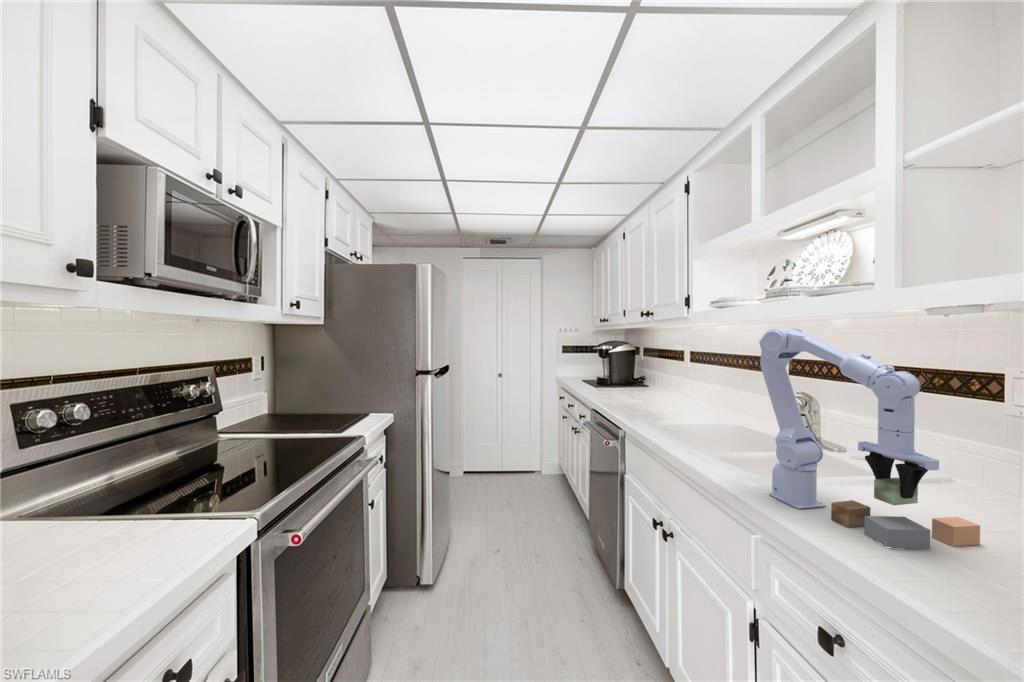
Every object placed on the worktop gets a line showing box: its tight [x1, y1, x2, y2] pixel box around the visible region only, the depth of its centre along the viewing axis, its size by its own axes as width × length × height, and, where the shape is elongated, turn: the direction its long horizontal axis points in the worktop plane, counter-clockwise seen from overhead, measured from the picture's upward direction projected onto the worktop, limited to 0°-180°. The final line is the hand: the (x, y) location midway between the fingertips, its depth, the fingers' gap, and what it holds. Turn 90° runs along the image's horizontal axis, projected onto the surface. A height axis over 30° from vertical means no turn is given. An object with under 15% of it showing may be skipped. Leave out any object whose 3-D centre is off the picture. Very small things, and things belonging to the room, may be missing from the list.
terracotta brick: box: [931, 516, 981, 548], centre depth 87 cm, size 4×6×4 cm, turn 96°
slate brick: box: [864, 515, 931, 550], centre depth 87 cm, size 6×8×4 cm
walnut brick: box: [830, 499, 871, 528], centre depth 96 cm, size 4×6×4 cm, turn 102°
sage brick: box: [873, 477, 919, 506], centre depth 90 cm, size 4×6×4 cm, turn 100°
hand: (895, 493), depth 90 cm, fingers closed on sage brick, 4 cm apart
